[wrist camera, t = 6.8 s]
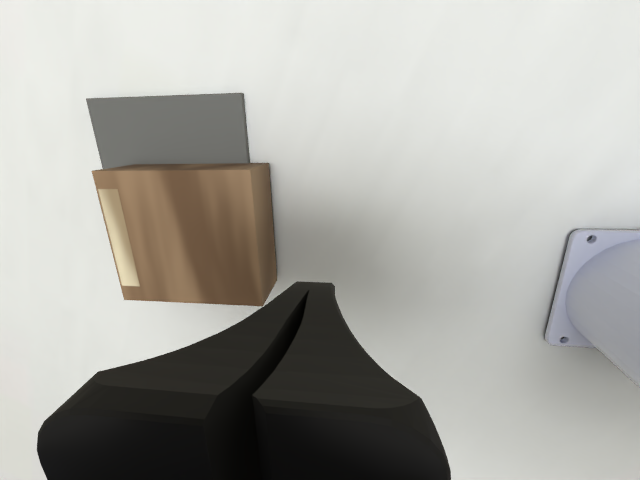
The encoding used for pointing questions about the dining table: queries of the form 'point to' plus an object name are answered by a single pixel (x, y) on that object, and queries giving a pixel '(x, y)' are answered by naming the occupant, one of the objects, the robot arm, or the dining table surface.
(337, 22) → the dining table surface
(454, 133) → the dining table surface
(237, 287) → the walnut slab
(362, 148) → the dining table surface
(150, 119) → the rubber mat
